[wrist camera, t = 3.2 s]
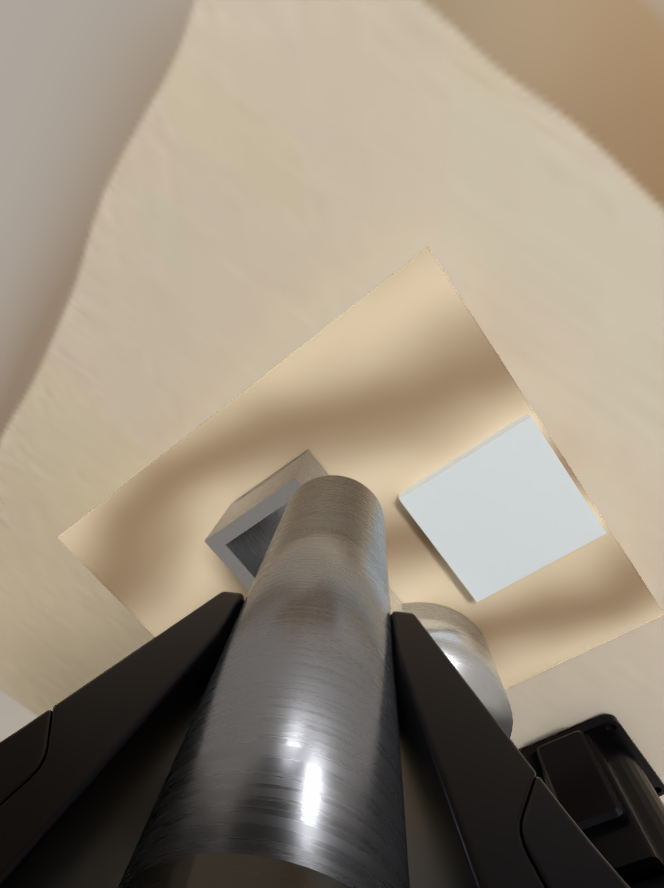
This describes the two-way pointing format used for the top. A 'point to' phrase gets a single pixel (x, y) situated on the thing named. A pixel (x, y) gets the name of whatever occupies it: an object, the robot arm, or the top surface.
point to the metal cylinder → (294, 722)
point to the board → (363, 477)
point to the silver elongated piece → (460, 639)
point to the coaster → (502, 509)
